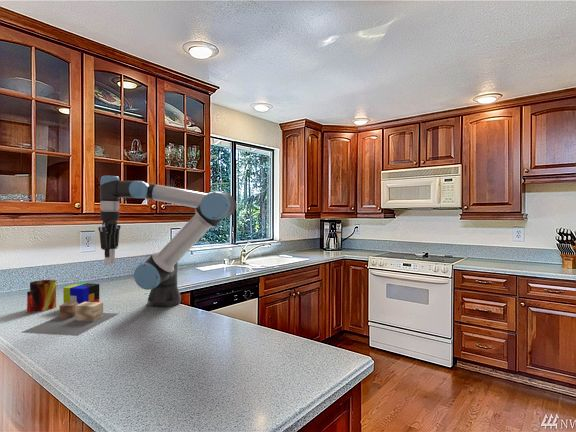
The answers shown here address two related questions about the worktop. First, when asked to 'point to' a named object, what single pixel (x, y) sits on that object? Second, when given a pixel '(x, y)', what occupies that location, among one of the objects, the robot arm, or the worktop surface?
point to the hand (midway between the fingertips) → (109, 263)
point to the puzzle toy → (81, 293)
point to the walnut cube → (67, 309)
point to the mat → (67, 325)
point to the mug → (41, 295)
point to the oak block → (89, 311)
